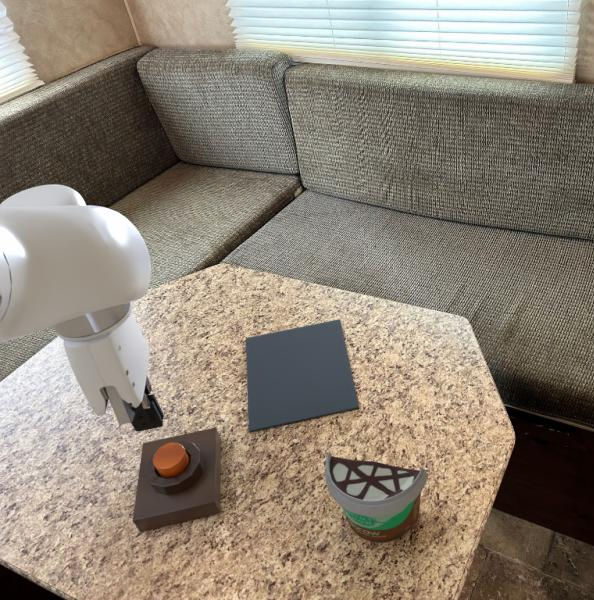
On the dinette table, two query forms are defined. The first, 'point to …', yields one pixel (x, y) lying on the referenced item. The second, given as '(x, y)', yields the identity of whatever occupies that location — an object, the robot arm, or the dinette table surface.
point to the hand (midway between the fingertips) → (150, 424)
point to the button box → (180, 483)
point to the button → (171, 460)
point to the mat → (298, 375)
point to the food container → (375, 496)
